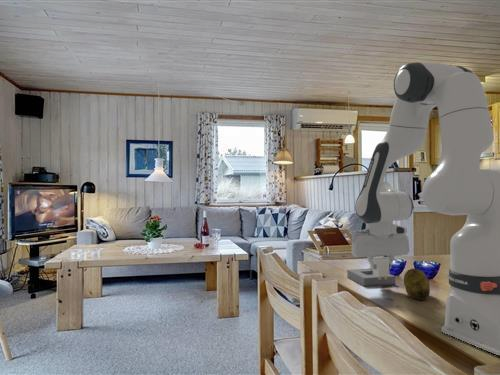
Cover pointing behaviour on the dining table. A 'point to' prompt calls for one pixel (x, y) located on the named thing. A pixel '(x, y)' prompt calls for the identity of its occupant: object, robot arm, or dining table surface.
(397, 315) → the dining table surface
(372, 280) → the socket
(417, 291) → the potato
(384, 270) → the plug
